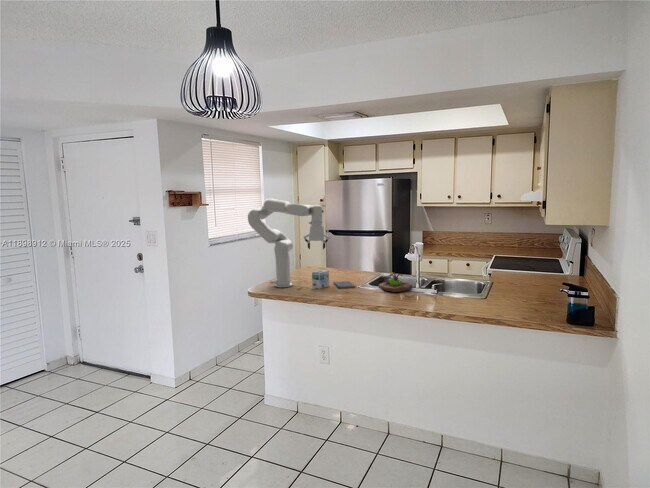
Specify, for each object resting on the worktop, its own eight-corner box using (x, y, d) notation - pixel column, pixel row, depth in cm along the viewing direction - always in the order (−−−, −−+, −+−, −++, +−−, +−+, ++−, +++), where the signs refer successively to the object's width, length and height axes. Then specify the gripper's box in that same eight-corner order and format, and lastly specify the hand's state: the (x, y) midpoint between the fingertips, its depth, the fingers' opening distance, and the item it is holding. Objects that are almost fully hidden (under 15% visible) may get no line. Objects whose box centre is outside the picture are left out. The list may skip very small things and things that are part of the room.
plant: (373, 288, 267) (373, 271, 266) (393, 283, 279) (393, 267, 278) (395, 293, 251) (395, 275, 250) (416, 288, 263) (416, 271, 262)
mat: (338, 288, 266) (338, 286, 265) (333, 283, 281) (333, 281, 281) (355, 287, 268) (355, 285, 268) (349, 282, 283) (349, 280, 283)
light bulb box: (319, 289, 266) (319, 272, 265) (311, 287, 270) (311, 271, 269) (329, 286, 275) (329, 270, 274) (321, 284, 279) (321, 269, 278)
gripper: (303, 223, 267) (303, 249, 269) (329, 224, 267) (329, 249, 269) (304, 223, 275) (304, 248, 277) (329, 223, 274) (329, 248, 276)
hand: (316, 249), depth 273 cm, fingers open, 9 cm apart
